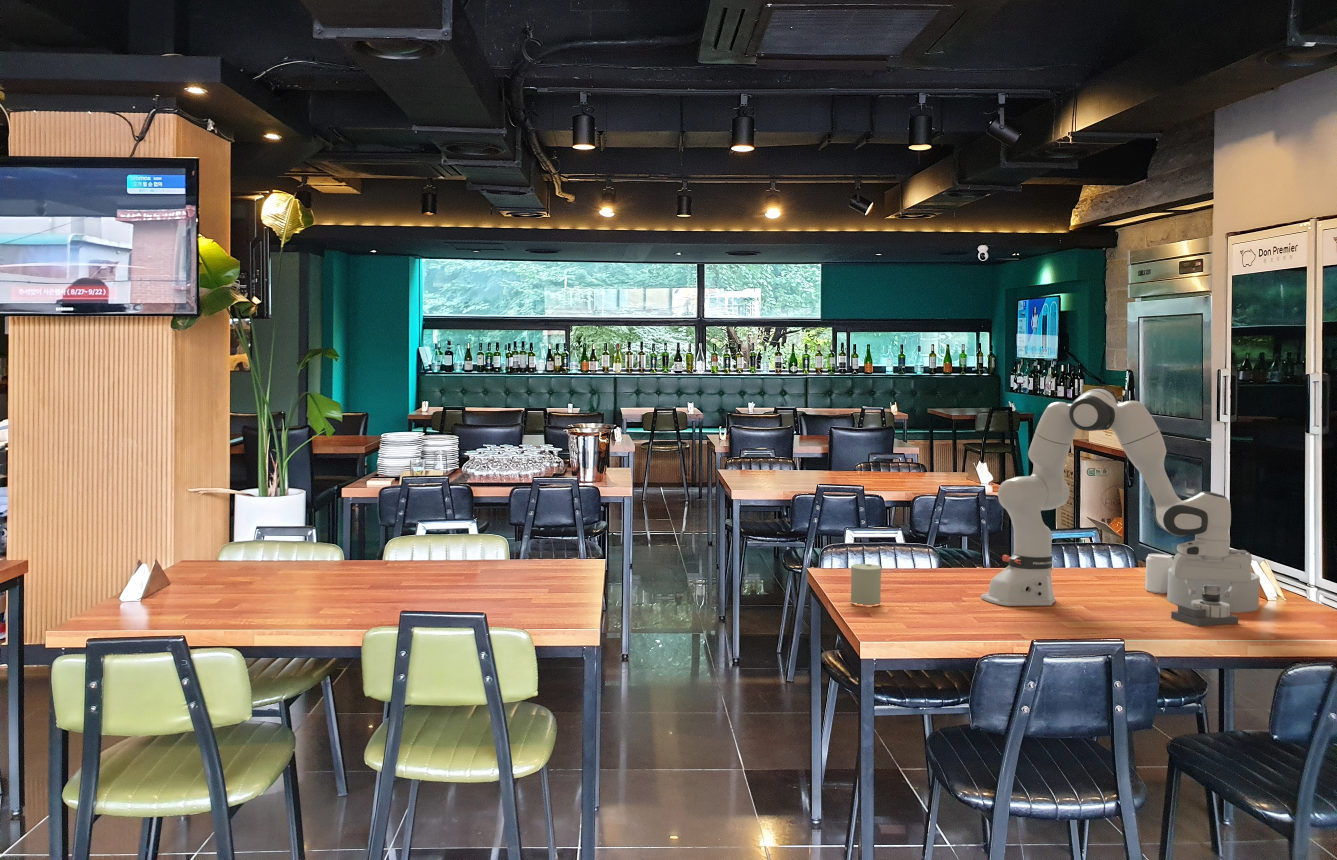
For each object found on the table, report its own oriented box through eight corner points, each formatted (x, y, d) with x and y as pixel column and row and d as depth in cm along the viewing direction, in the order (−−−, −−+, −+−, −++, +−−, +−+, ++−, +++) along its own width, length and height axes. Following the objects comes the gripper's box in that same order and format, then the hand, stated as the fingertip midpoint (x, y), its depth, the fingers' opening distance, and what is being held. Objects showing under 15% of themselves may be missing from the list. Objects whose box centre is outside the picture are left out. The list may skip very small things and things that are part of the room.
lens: (1218, 616, 284) (1219, 588, 283) (1200, 614, 286) (1201, 586, 286) (1220, 613, 287) (1221, 585, 287) (1202, 611, 290) (1203, 583, 289)
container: (1266, 616, 294) (1267, 582, 294) (1172, 609, 303) (1173, 576, 302) (1249, 599, 318) (1250, 568, 317) (1162, 593, 326) (1163, 563, 326)
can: (883, 602, 307) (884, 564, 307) (877, 608, 299) (877, 568, 298) (854, 599, 311) (855, 561, 311) (846, 605, 303) (847, 566, 302)
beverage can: (1175, 594, 323) (1177, 558, 322) (1148, 593, 324) (1150, 557, 324) (1168, 589, 330) (1169, 554, 330) (1142, 588, 332) (1143, 552, 332)
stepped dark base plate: (1198, 626, 280) (1198, 608, 280) (1171, 618, 290) (1171, 601, 289) (1238, 623, 284) (1238, 606, 284) (1210, 615, 294) (1210, 598, 293)
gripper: (1248, 548, 287) (1246, 596, 288) (1171, 544, 292) (1169, 591, 293) (1255, 552, 281) (1253, 600, 282) (1176, 548, 286) (1174, 596, 287)
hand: (1210, 596), depth 287 cm, fingers open, 8 cm apart
